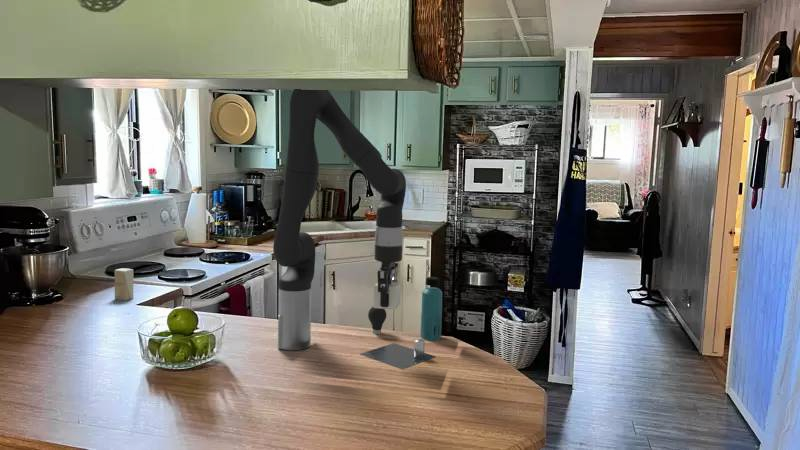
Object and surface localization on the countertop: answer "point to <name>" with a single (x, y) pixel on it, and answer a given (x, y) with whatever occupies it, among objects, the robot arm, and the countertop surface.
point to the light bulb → (377, 319)
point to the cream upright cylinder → (123, 284)
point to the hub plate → (400, 354)
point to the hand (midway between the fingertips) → (387, 303)
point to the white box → (393, 296)
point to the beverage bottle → (431, 311)
